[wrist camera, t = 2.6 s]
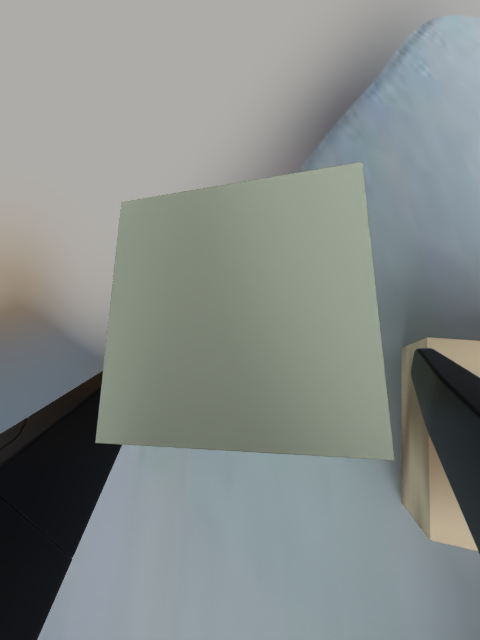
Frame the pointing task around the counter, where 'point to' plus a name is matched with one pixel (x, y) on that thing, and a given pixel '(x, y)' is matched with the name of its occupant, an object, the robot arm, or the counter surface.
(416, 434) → the oak base block
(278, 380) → the sage pillar
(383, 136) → the counter surface
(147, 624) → the counter surface
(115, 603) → the counter surface
